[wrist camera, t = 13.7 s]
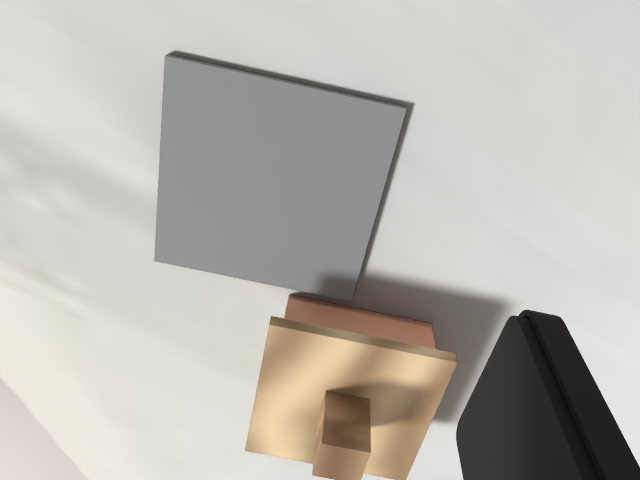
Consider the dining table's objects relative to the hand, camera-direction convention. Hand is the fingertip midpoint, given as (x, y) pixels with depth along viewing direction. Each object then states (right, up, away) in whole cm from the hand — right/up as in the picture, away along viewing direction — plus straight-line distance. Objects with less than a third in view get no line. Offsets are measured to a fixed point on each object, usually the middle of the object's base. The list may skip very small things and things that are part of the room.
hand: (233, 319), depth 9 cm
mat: (-2, +5, +30) cm, 30 cm away
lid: (+3, -12, +34) cm, 36 cm away
